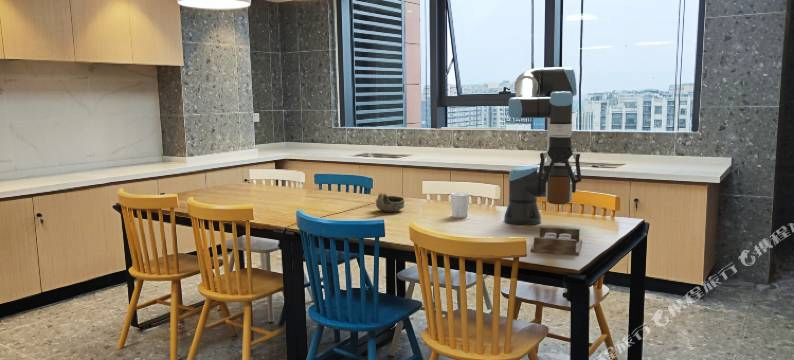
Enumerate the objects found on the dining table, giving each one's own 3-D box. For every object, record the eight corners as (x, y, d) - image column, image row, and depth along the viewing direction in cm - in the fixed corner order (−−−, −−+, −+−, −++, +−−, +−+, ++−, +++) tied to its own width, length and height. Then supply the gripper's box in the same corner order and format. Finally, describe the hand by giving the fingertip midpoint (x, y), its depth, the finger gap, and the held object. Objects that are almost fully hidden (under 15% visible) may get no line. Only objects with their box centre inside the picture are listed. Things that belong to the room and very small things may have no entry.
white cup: (448, 217, 278) (448, 195, 277) (453, 214, 286) (453, 192, 284) (465, 218, 275) (465, 196, 274) (470, 215, 283) (470, 193, 281)
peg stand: (530, 251, 219) (531, 237, 218) (537, 239, 237) (537, 226, 236) (578, 255, 214) (579, 240, 213) (582, 242, 231) (582, 228, 231)
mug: (553, 198, 230) (553, 172, 229) (574, 199, 226) (575, 173, 225) (544, 203, 219) (545, 176, 218) (566, 205, 216) (567, 178, 215)
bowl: (410, 209, 297) (410, 188, 296) (392, 216, 282) (392, 194, 280) (384, 207, 303) (384, 187, 302) (366, 214, 288) (365, 192, 287)
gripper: (529, 136, 220) (528, 201, 223) (590, 137, 213) (588, 204, 216) (532, 135, 227) (531, 198, 230) (591, 135, 220) (589, 200, 223)
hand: (558, 201), depth 223 cm, fingers closed on mug, 7 cm apart
